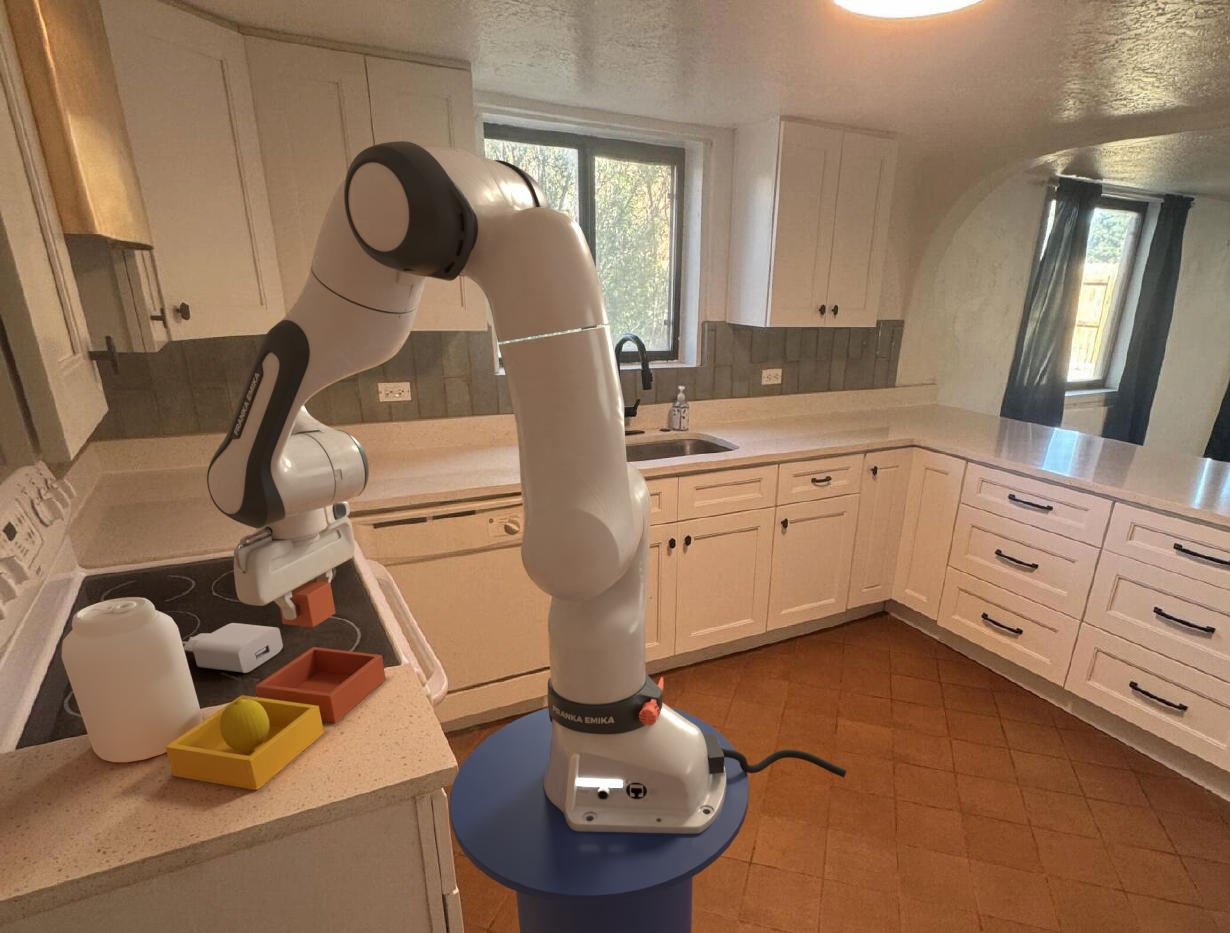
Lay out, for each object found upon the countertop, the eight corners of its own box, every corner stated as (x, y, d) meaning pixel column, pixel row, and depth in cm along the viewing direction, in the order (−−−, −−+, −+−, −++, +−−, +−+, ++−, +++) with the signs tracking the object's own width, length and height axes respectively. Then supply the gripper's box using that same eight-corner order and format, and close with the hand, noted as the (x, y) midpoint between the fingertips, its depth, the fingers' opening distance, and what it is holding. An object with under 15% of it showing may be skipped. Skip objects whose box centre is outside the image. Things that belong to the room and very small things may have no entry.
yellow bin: (324, 732, 98) (318, 705, 97) (257, 790, 87) (249, 760, 85) (248, 721, 101) (241, 694, 99) (173, 776, 89) (164, 746, 88)
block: (335, 613, 104) (330, 582, 102) (313, 627, 99) (307, 595, 97) (306, 609, 105) (300, 579, 103) (282, 624, 100) (276, 592, 98)
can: (208, 704, 105) (175, 582, 98) (199, 749, 94) (162, 616, 87) (106, 725, 100) (63, 598, 92) (85, 776, 89) (35, 636, 82)
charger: (210, 641, 124) (284, 649, 121) (166, 666, 116) (243, 675, 113) (204, 617, 122) (278, 625, 120) (159, 640, 114) (237, 649, 111)
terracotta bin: (386, 679, 112) (382, 655, 110) (335, 723, 100) (330, 696, 99) (317, 671, 114) (313, 646, 113) (260, 712, 103) (254, 686, 101)
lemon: (256, 734, 97) (244, 684, 94) (283, 745, 95) (272, 694, 92) (218, 756, 92) (204, 704, 89) (245, 768, 90) (231, 715, 87)
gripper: (254, 543, 86) (275, 642, 91) (356, 500, 105) (369, 584, 110) (211, 539, 87) (234, 637, 92) (319, 497, 106) (333, 580, 111)
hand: (308, 608), depth 101 cm, fingers closed on block, 5 cm apart
